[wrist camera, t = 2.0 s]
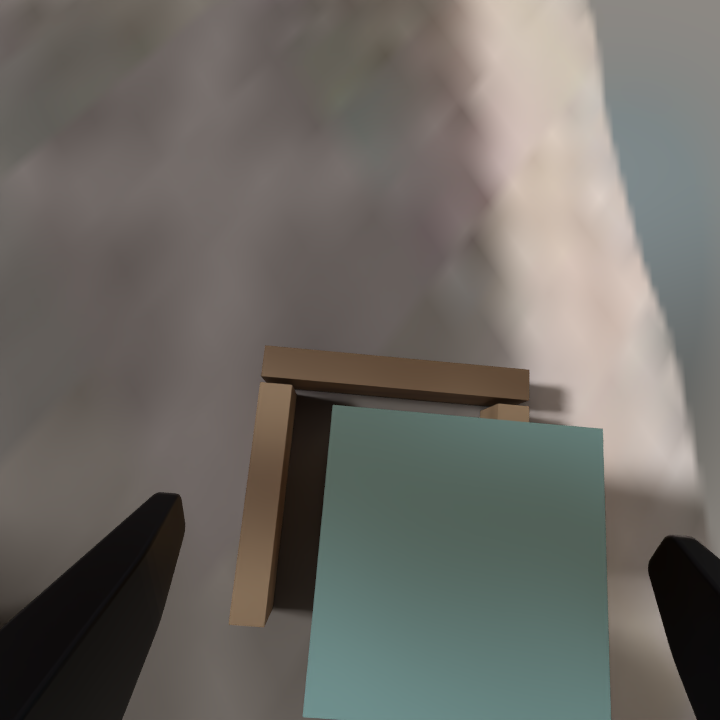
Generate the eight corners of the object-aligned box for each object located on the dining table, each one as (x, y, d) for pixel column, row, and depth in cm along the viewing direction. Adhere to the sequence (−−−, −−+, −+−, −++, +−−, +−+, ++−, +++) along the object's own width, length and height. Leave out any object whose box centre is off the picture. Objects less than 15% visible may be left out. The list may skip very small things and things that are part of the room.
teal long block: (431, 564, 16) (611, 738, 6) (324, 556, 16) (302, 716, 6) (436, 455, 17) (602, 428, 7) (334, 446, 17) (332, 404, 6)
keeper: (504, 626, 16) (527, 647, 14) (241, 605, 16) (228, 624, 14) (508, 381, 18) (529, 369, 16) (272, 359, 18) (265, 345, 16)
